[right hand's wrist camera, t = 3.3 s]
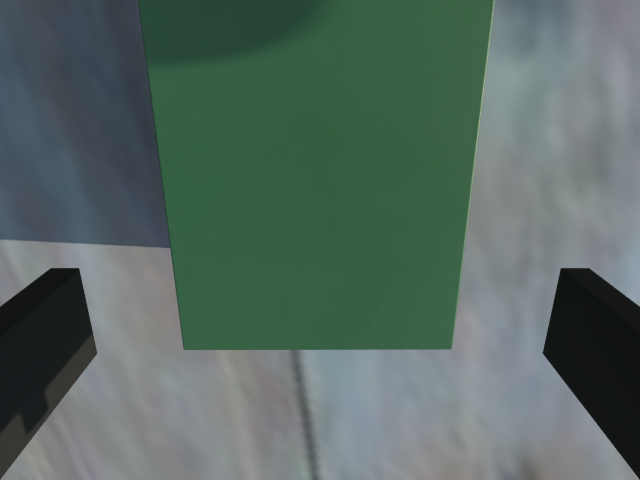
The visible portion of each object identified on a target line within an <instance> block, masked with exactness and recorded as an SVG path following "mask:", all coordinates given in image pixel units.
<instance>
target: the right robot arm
mask: <svg viewBox="0 0 640 480" xmlns="http://www.w3.org/2000/svg"><path fill="white" fill-rule="evenodd" d="M96 354H97V350H96V345H95V341H94V336H93V331H92V327H91V322H90V317H89V313H88V308H87V303H86V299H85V294H84V289H83V284H82V280H81V275H80V270H79V268H51V269H49V270H48V271H47V272H45V273H44V274H43V275H41V276H40V277H39V278H38V279H36V280H35V281H34V282H32V283H31V284H30V285H28V286H27V287H26V288H24V289H23V290H22V291H20V292H19V293H18V294H17V295H15V296H14V297H13V298H11V299H10V300H9V301H7V302H6V303H5V304H3V305H2V306H1V307H0V479H1V478H2V477H3V475H4V474H5V473H6V471H7V470H8V469H9V467H10V466H11V465H12V464H13V462H14V461H15V460H16V458H17V457H18V456H19V454H20V453H21V452H22V451H23V449H24V448H25V447H26V445H27V444H28V443H29V441H30V440H31V439H32V438H33V436H34V435H35V434H36V432H37V431H38V430H39V428H40V427H41V426H42V425H43V423H44V422H45V421H46V419H47V418H48V417H49V415H50V414H51V413H52V412H53V410H54V409H55V408H56V406H57V405H58V404H59V402H60V401H61V400H62V398H63V397H64V396H65V395H66V393H67V392H68V391H69V389H70V388H71V387H72V385H73V384H74V383H75V382H76V380H77V379H78V378H79V376H80V375H81V374H82V372H83V371H84V370H85V369H86V367H87V366H88V365H89V363H90V362H91V361H92V359H93V358H94V357H95V356H96ZM543 354H544V356H545V357H546V358H547V359H548V361H549V362H550V363H551V365H552V366H553V367H554V369H555V370H556V371H557V372H558V374H559V375H560V376H561V378H562V379H563V380H564V382H565V383H566V384H567V385H568V387H569V388H570V389H571V391H572V392H573V393H574V395H575V396H576V397H577V398H578V400H579V401H580V402H581V404H582V405H583V406H584V408H585V409H586V410H587V412H588V413H589V414H590V415H591V417H592V418H593V419H594V421H595V422H596V423H597V425H598V426H599V427H600V428H601V430H602V431H603V432H604V434H605V435H606V436H607V438H608V439H609V440H610V441H611V443H612V444H613V445H614V447H615V448H616V449H617V451H618V452H619V453H620V454H621V456H622V457H623V458H624V460H625V461H626V462H627V464H628V465H629V466H630V467H631V469H632V470H633V471H634V473H635V474H636V475H637V477H638V478H639V479H640V307H639V306H638V305H637V304H635V303H634V302H633V301H631V300H630V299H629V298H627V297H626V296H625V295H623V294H622V293H621V292H620V291H618V290H617V289H616V288H614V287H613V286H612V285H610V284H609V283H608V282H606V281H605V280H604V279H602V278H601V277H600V276H599V275H597V274H596V273H595V272H593V271H592V270H591V269H589V268H561V270H560V275H559V280H558V284H557V289H556V294H555V299H554V303H553V308H552V313H551V317H550V322H549V327H548V331H547V336H546V341H545V345H544V350H543Z"/></svg>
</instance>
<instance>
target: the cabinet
mask: <svg viewBox="0 0 640 480" xmlns="http://www.w3.org/2000/svg"><path fill="white" fill-rule="evenodd" d="M138 3H139V11H140V18H141V26H142V34H143V41H144V49H145V57H146V64H147V72H148V80H149V87H150V95H151V103H152V110H153V118H154V125H155V133H156V141H157V148H158V156H159V164H160V171H161V179H162V187H163V194H164V202H165V210H166V217H167V225H168V233H169V240H170V248H171V256H172V263H173V271H174V279H175V286H176V294H177V301H178V309H179V317H180V324H181V332H182V340H183V347H184V350H368V349H452V346H453V338H454V330H455V322H456V313H457V305H458V297H459V289H460V281H461V273H462V264H463V256H464V248H465V240H466V232H467V224H468V215H469V207H470V199H471V191H472V183H473V175H474V166H475V158H476V150H477V142H478V134H479V126H480V117H481V109H482V101H483V93H484V85H485V77H486V68H487V60H488V52H489V44H490V36H491V28H492V19H493V11H494V3H495V0H138Z"/></svg>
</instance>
